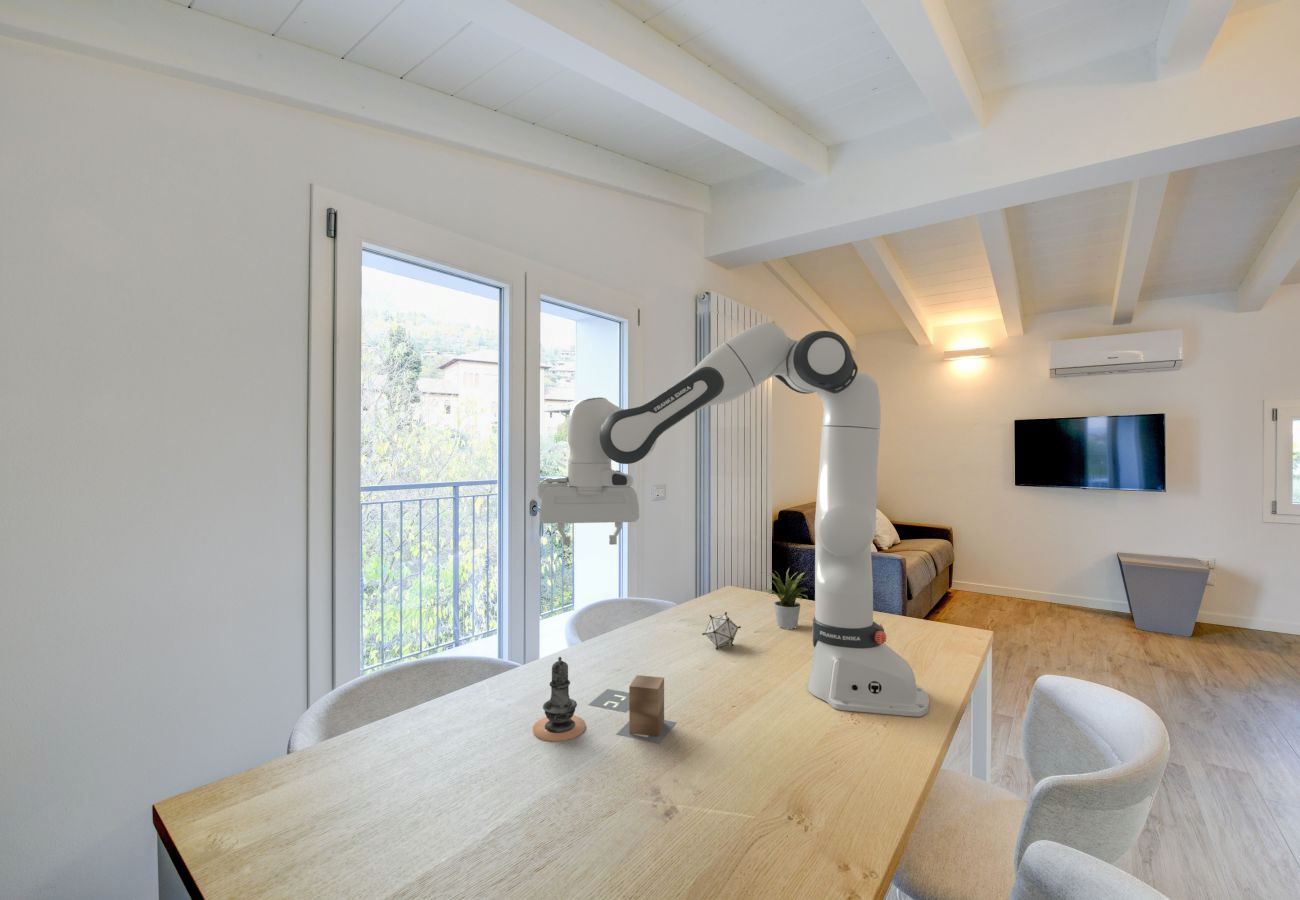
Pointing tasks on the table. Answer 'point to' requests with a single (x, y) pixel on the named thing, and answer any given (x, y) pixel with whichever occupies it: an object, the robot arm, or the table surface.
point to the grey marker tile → (612, 700)
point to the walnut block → (646, 705)
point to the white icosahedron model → (721, 630)
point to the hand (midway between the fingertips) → (589, 544)
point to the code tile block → (664, 731)
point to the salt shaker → (559, 701)
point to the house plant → (787, 601)
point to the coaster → (546, 735)
